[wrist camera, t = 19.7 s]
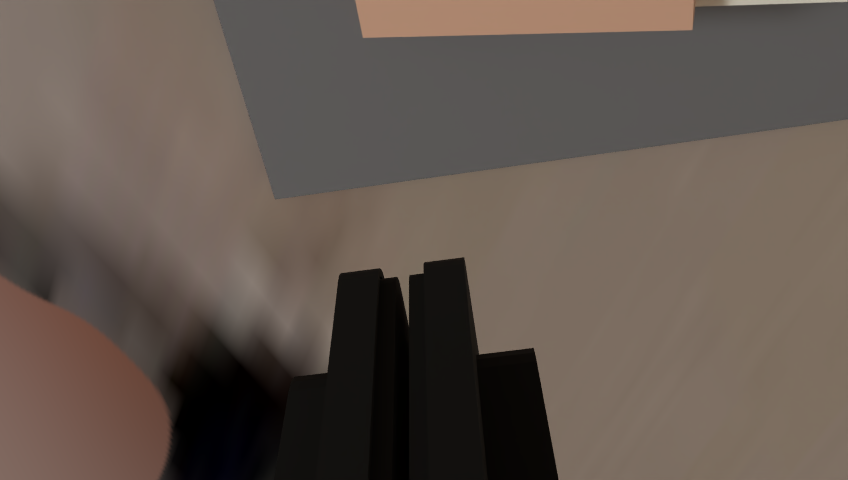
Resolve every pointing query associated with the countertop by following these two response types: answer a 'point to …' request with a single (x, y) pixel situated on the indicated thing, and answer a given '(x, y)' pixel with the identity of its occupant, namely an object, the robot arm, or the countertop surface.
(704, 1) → the ivory tile
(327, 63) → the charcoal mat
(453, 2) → the terracotta tile
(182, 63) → the countertop surface
